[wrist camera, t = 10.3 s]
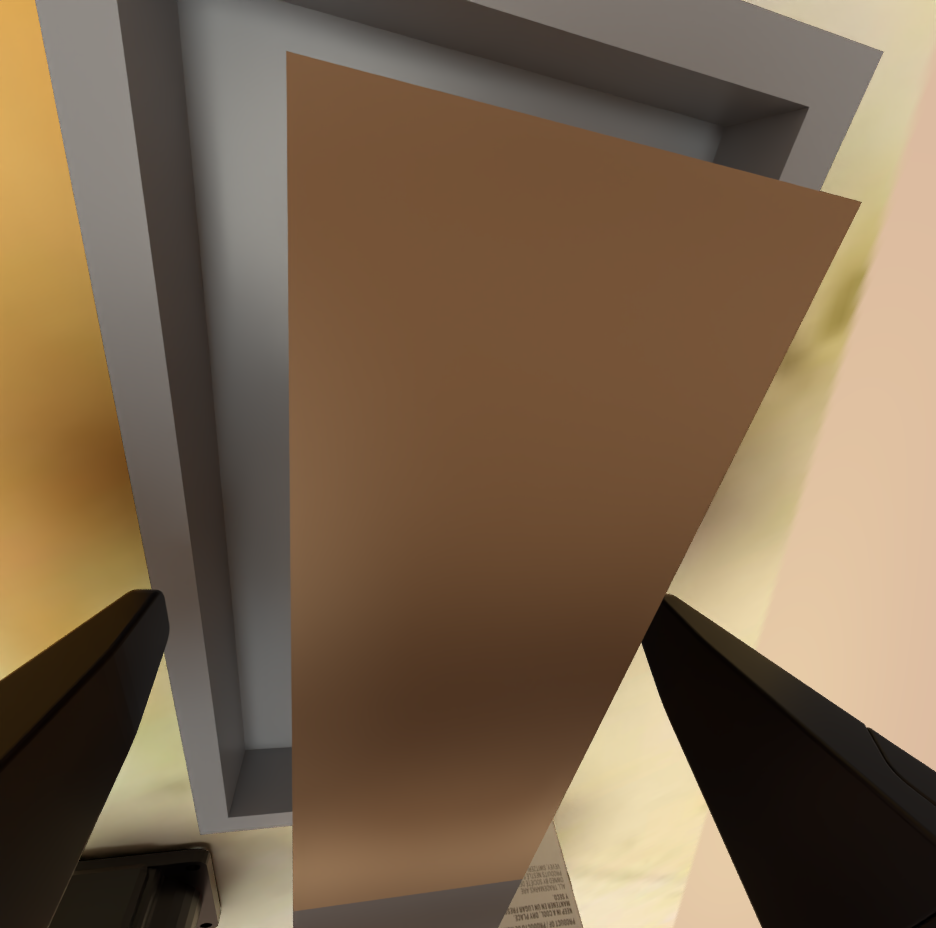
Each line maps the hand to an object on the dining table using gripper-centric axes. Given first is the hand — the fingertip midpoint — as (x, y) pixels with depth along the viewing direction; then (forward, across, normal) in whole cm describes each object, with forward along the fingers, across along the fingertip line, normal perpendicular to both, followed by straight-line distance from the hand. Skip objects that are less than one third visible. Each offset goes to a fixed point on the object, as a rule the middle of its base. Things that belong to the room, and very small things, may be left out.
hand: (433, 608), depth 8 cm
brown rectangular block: (+3, 0, 0) cm, 3 cm away
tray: (+4, 0, 0) cm, 4 cm away
